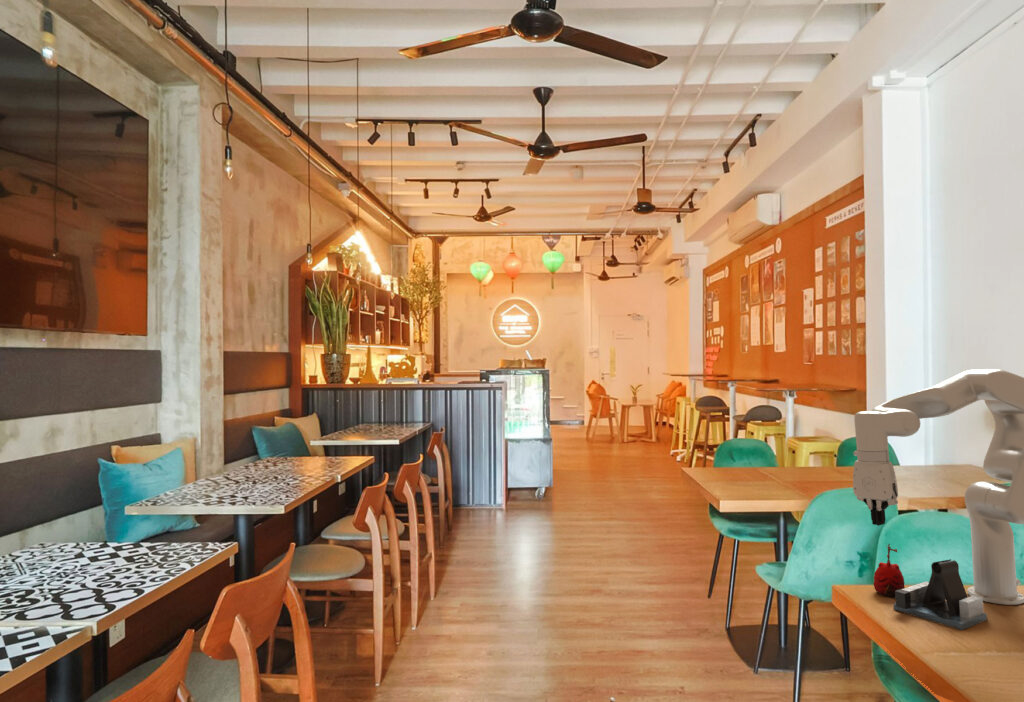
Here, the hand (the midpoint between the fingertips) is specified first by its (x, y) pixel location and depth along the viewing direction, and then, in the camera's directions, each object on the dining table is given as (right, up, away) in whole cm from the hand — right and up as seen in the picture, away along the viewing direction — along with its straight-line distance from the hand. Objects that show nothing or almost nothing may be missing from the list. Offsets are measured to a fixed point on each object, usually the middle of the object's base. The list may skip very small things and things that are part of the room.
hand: (878, 524), depth 173 cm
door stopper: (+14, -20, -7) cm, 25 cm away
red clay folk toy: (+8, -22, +8) cm, 25 cm away
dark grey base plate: (+11, -21, -7) cm, 25 cm away
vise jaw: (+8, -20, -3) cm, 22 cm away
